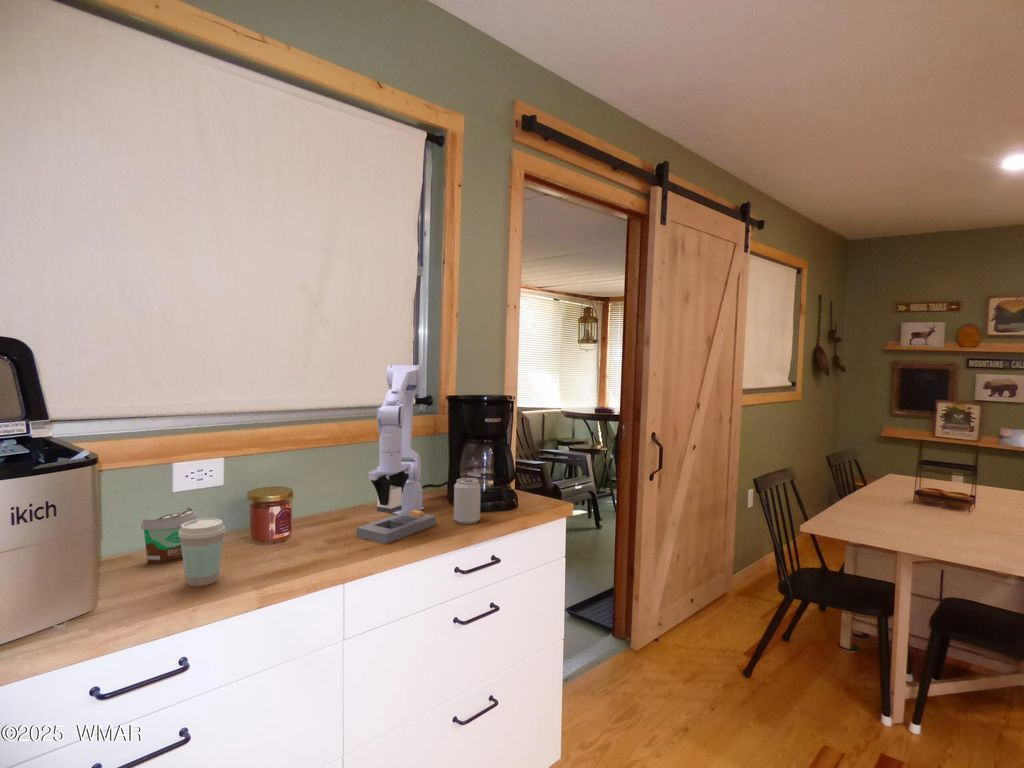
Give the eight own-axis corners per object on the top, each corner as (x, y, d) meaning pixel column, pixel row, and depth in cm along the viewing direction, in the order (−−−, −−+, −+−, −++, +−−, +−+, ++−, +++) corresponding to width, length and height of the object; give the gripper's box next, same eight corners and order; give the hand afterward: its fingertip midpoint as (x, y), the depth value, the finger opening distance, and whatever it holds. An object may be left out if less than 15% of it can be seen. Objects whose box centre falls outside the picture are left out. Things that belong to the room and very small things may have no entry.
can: (482, 518, 169) (483, 477, 169) (476, 525, 162) (477, 482, 161) (457, 516, 171) (458, 476, 170) (450, 523, 163) (451, 481, 163)
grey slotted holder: (407, 519, 167) (407, 507, 167) (435, 524, 162) (435, 512, 162) (356, 537, 150) (356, 523, 150) (385, 544, 145) (385, 530, 145)
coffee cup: (205, 570, 125) (205, 515, 125) (235, 577, 122) (234, 520, 121) (168, 585, 117) (167, 526, 117) (199, 592, 114) (198, 531, 113)
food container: (161, 568, 126) (161, 522, 126) (141, 564, 128) (140, 519, 128) (209, 551, 138) (208, 509, 137) (189, 547, 140) (189, 506, 139)
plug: (388, 507, 156) (388, 485, 156) (401, 509, 154) (401, 487, 154) (376, 511, 152) (377, 488, 152) (390, 513, 150) (390, 490, 150)
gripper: (396, 446, 161) (395, 495, 161) (359, 453, 148) (359, 506, 148) (417, 448, 157) (416, 498, 158) (381, 456, 144) (380, 510, 145)
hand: (390, 502), depth 153 cm, fingers closed on plug, 4 cm apart
